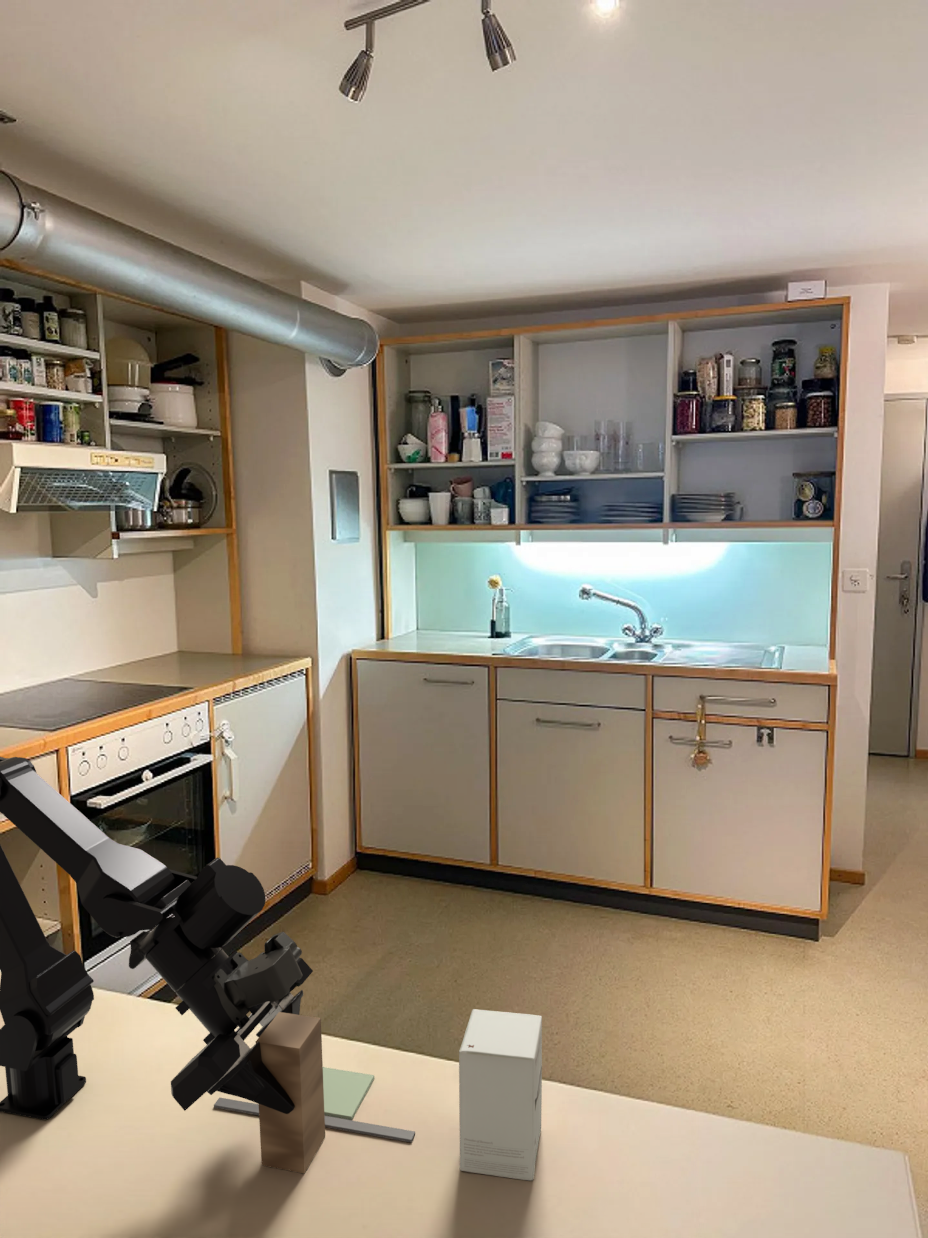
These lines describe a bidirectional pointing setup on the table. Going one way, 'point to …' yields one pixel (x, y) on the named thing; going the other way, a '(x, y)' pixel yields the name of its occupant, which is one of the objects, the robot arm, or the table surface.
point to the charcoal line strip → (327, 1121)
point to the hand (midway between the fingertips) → (304, 1092)
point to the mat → (344, 1092)
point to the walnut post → (293, 1092)
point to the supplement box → (500, 1094)
